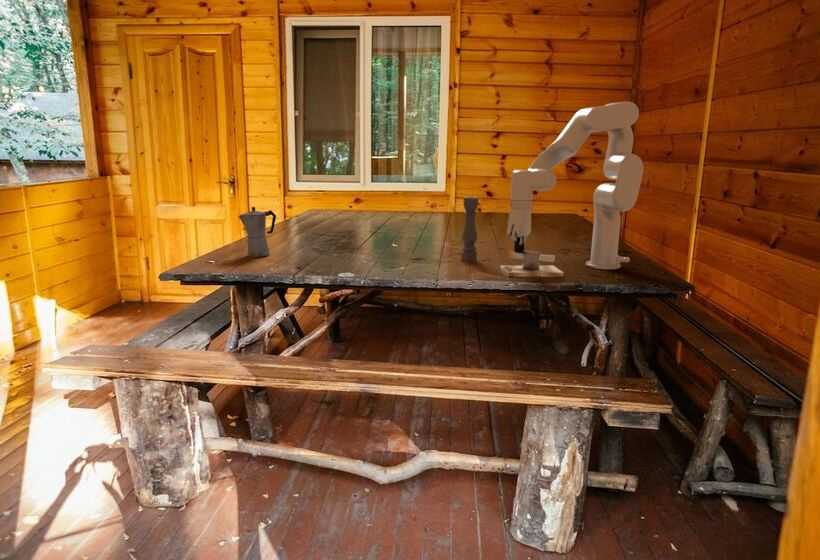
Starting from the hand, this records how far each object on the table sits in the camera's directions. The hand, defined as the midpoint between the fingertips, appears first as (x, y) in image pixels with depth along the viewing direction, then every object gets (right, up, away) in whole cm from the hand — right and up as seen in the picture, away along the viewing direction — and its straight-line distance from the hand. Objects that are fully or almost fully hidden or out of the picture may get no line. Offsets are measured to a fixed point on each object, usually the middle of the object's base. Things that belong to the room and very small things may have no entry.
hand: (519, 254), depth 207 cm
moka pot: (-102, +1, +25) cm, 105 cm away
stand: (+4, -7, -3) cm, 8 cm away
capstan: (+4, -5, -3) cm, 7 cm away
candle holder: (-17, -2, +18) cm, 25 cm away
